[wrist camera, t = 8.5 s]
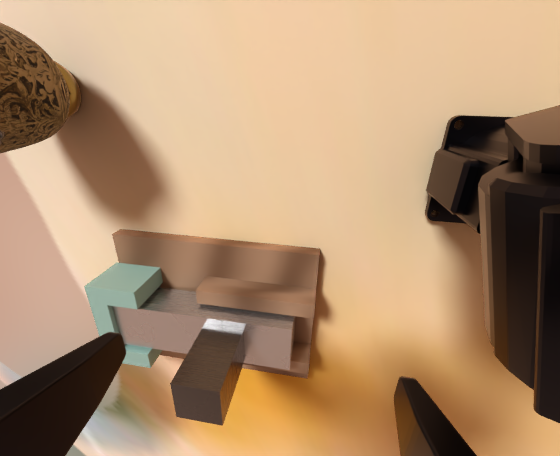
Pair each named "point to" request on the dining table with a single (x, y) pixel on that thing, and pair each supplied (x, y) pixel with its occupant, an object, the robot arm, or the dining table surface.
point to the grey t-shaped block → (207, 346)
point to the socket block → (124, 302)
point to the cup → (32, 92)
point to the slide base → (234, 279)
